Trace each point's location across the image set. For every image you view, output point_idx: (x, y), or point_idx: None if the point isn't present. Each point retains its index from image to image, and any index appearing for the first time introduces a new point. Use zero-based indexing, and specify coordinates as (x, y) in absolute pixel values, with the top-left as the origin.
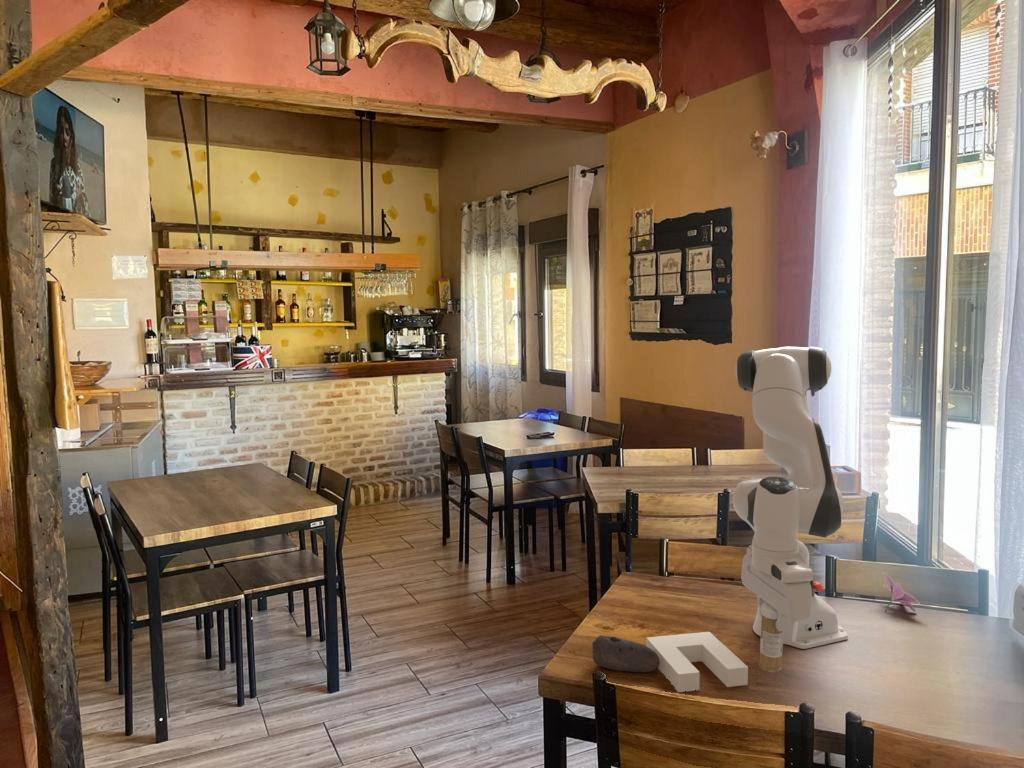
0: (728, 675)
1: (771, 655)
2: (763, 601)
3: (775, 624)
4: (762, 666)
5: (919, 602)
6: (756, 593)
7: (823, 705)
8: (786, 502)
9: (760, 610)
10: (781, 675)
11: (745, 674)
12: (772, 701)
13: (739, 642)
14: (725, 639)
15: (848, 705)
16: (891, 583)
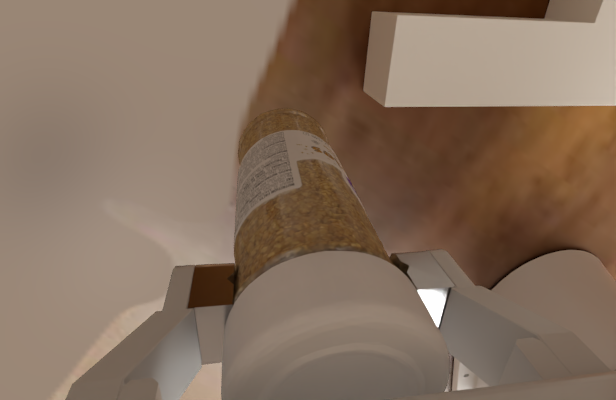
0: (386, 17)
1: (242, 160)
2: (502, 358)
3: (212, 282)
4: (274, 113)
5: None
6: (604, 389)
7: (212, 237)
8: None
9: (452, 277)
10: (377, 211)
11: (376, 90)
12: (255, 115)
13: (562, 192)
14: (595, 164)
15: None
16: None
